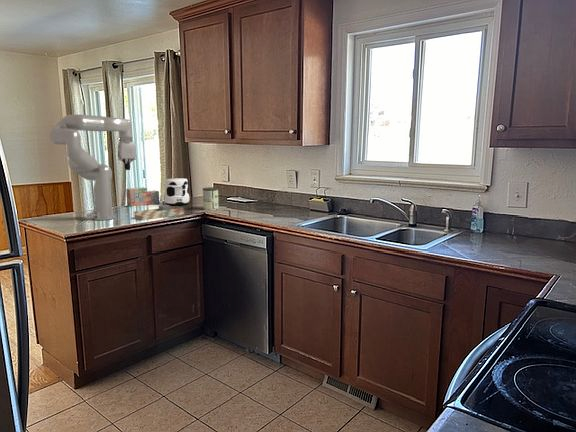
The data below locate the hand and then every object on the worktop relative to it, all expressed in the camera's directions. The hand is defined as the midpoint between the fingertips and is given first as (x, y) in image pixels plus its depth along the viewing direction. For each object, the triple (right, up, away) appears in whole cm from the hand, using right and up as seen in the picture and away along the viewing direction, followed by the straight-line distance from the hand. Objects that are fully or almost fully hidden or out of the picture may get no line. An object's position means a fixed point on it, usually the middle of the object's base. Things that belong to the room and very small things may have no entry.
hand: (127, 169), depth 272 cm
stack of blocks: (-2, -21, +37) cm, 42 cm away
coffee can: (+48, -24, +21) cm, 58 cm away
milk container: (+21, -21, +40) cm, 49 cm away
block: (+24, -26, -4) cm, 36 cm away
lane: (+22, -29, -6) cm, 37 cm away
